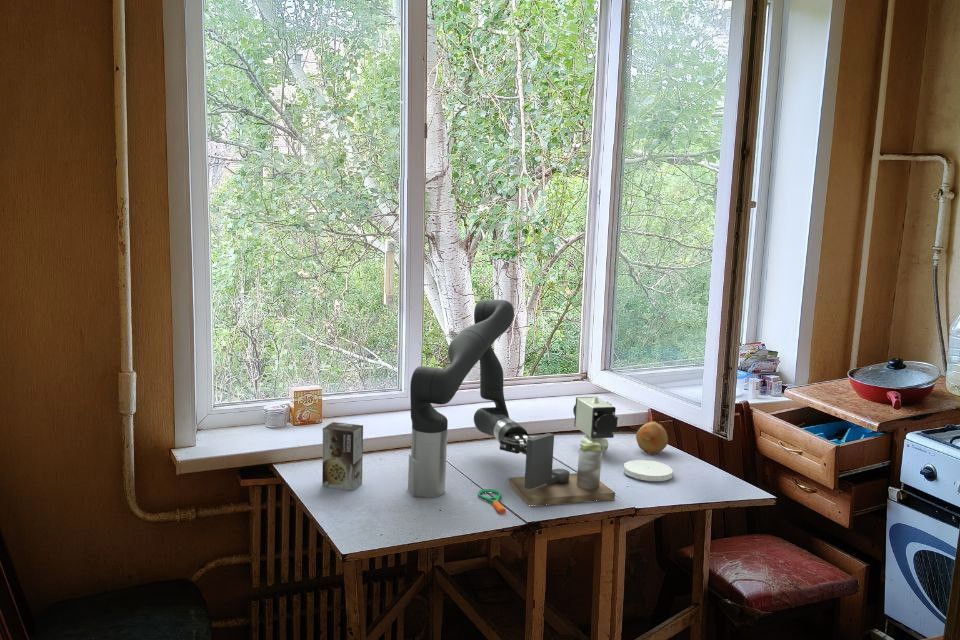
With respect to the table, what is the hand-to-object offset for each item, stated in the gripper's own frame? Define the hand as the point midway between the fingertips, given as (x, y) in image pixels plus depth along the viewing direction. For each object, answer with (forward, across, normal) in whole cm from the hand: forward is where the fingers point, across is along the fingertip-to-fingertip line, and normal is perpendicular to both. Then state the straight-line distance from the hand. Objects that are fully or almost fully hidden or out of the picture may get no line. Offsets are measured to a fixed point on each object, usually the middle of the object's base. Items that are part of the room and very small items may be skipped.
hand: (533, 453), depth 203 cm
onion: (-28, +52, +12) cm, 60 cm away
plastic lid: (-9, +40, +12) cm, 43 cm away
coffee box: (-17, -47, +12) cm, 51 cm away
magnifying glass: (+2, -11, +12) cm, 17 cm away
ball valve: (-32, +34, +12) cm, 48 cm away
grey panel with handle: (-1, +5, +9) cm, 11 cm away
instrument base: (-1, +9, +12) cm, 15 cm away
